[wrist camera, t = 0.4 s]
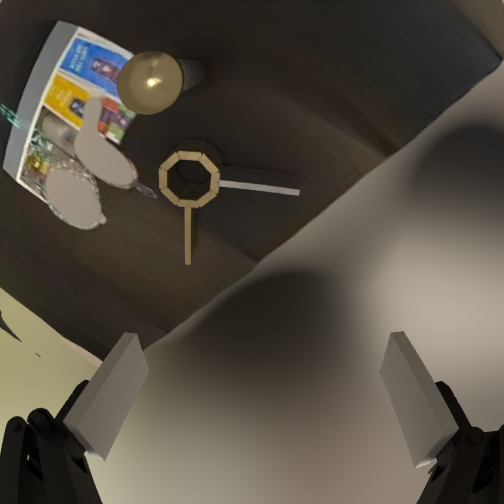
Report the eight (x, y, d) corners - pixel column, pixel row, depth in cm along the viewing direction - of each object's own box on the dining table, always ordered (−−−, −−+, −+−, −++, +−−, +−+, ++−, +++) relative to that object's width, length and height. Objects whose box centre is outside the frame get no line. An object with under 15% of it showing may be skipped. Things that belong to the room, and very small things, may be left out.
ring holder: (132, 189, 37) (119, 206, 33) (235, 99, 30) (233, 105, 26) (193, 245, 44) (188, 266, 40) (296, 177, 37) (302, 193, 33)
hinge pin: (164, 72, 27) (105, 86, 15) (194, 48, 25) (151, 38, 13) (189, 98, 30) (146, 127, 17) (219, 74, 28) (196, 82, 15)
